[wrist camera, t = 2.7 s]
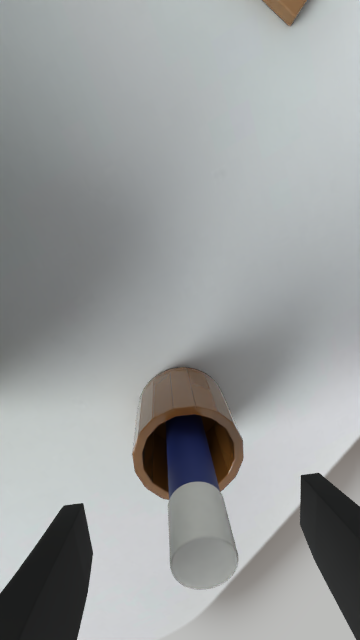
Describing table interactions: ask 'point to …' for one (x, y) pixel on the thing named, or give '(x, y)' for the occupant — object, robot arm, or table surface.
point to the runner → (286, 9)
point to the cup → (178, 400)
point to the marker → (196, 509)
